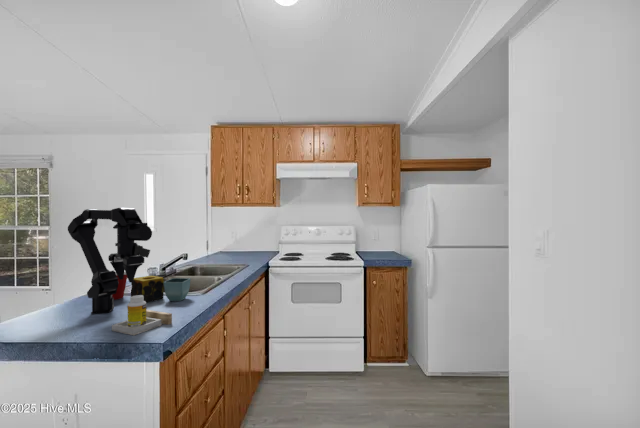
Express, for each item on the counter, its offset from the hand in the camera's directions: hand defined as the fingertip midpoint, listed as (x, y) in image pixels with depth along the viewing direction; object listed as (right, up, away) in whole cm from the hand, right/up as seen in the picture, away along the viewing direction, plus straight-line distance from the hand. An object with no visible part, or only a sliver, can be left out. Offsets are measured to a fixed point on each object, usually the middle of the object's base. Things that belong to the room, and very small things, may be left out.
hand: (126, 280), depth 129 cm
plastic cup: (-19, -13, +25) cm, 34 cm away
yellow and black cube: (-3, -13, +22) cm, 26 cm away
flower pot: (+11, -13, +22) cm, 27 cm away
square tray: (+13, -13, -16) cm, 24 cm away
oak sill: (+16, -13, -9) cm, 22 cm away
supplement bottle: (+13, -13, -16) cm, 24 cm away
